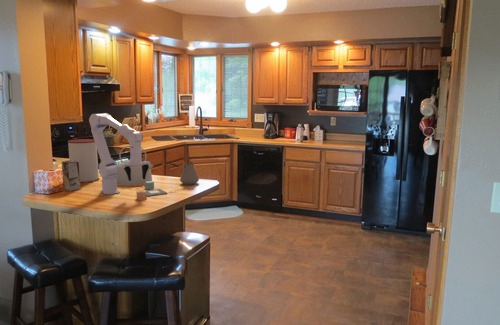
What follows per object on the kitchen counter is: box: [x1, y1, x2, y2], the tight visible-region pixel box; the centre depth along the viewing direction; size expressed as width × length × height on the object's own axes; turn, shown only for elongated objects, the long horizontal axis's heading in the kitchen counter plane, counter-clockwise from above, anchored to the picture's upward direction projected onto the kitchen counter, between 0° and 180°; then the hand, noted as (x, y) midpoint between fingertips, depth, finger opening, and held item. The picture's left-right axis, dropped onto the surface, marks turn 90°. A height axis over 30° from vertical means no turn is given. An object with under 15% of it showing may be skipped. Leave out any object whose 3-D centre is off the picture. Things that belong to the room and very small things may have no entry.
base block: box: [144, 180, 155, 190], centre depth 245 cm, size 4×4×4 cm
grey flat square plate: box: [145, 188, 168, 198], centre depth 234 cm, size 11×11×1 cm
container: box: [67, 138, 100, 184], centre depth 265 cm, size 17×17×25 cm
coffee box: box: [61, 159, 81, 192], centre depth 242 cm, size 9×6×16 cm
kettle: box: [116, 145, 154, 186], centre depth 261 cm, size 25×23×22 cm
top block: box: [135, 190, 148, 201], centre depth 222 cm, size 4×4×4 cm
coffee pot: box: [165, 161, 200, 186], centre depth 253 cm, size 21×12×15 cm, turn 132°
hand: (136, 179), depth 225 cm, fingers open, 7 cm apart
